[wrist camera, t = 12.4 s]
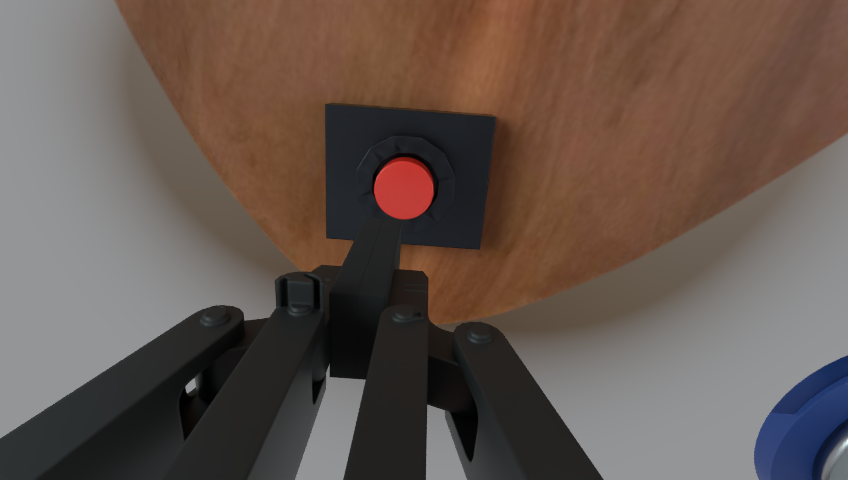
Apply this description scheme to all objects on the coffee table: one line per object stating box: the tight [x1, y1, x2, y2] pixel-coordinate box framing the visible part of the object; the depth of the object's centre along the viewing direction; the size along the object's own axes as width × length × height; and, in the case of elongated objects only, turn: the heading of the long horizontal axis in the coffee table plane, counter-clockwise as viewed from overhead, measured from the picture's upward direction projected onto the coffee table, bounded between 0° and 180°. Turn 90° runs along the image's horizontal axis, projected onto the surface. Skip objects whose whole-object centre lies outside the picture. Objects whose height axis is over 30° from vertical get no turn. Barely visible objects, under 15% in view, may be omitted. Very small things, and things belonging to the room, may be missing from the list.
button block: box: [325, 103, 496, 249], centre depth 31 cm, size 12×10×4 cm
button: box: [374, 157, 434, 219], centre depth 29 cm, size 4×4×2 cm
